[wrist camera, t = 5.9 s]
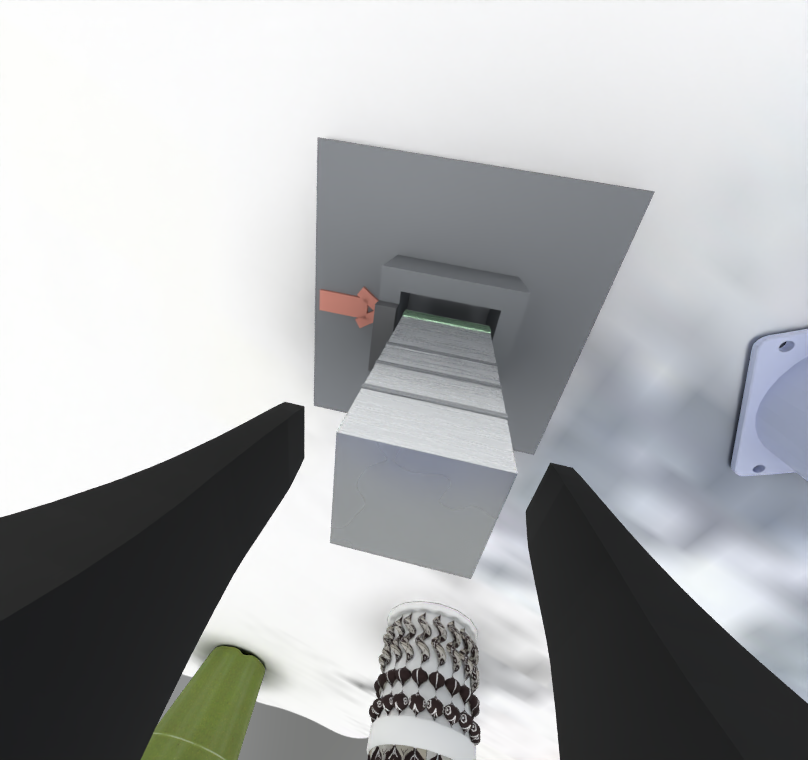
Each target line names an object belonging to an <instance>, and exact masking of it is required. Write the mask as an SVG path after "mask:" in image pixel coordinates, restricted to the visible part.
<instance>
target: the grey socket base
mask: <svg viewBox="0 0 808 760" xmlns="http://www.w3.org/2000/svg"><path fill="white" fill-rule="evenodd" d="M653 194H654V191H648V190H641V189H635V188H629V187H623V186H617V185H610V184H604V183H598V182H592V181H586V180H579V179H573V178H567V177H561V176H555V175H548V174H542V173H536V172H530V171H523V170H517V169H511V168H505V167H499V166H492V165H486V164H480V163H474V162H468V161H461V160H455V159H449V158H443V157H437V156H430V155H424V154H418V153H412V152H406V151H399V150H393V149H387V148H381V147H374V146H368V145H362V144H356V143H350V142H343V141H337V140H331V139H325V138H319V137H318V150H317V223H316V295H315V367H314V406H318V407H323V408H327V409H332V410H336V411H341V412H345V413H348V411H349V409H350V408H351V406H352V404H353V402H354V401H355V399H356V397H357V395H358V394H359V392H360V390H361V386H362V384H363V383H365V381H366V380H367V378H368V376H369V374H370V373H371V371H372V369H373V367H374V365H375V362H376V360H377V359H378V358H379V357H380V355H381V353H382V351H383V350H384V348H385V346H386V342H387V341H389V339H390V337H391V336H392V334H393V332H394V330H395V328H396V327H397V325H398V323H399V321H400V320H401V318H402V315H403V313H404V311H405V310H406V309H407V310H412V311H417V312H422V313H427V314H432V315H437V316H442V317H447V318H452V319H457V320H462V321H467V322H473V323H478V324H483V325H488V326H490V329H491V339H492V344H493V349H494V354H495V359H496V364H498V368H497V370H498V375H499V380H500V385H501V386H502V396H503V401H504V406H505V411H506V414H508V421H507V422H508V427H509V432H510V437H511V442H512V448H513V450H515V451H519V452H524V453H528V454H533V455H534V454H535V451H536V449H537V447H538V445H539V443H540V441H541V438H542V436H543V434H544V432H545V430H546V427H547V425H548V423H549V421H550V419H551V417H552V414H553V412H554V410H555V408H556V406H557V403H558V401H559V399H560V397H561V395H562V393H563V390H564V388H565V386H566V384H567V382H568V380H569V377H570V375H571V373H572V371H573V369H574V366H575V364H576V362H577V360H578V358H579V356H580V353H581V351H582V349H583V347H584V345H585V342H586V340H587V338H588V336H589V334H590V332H591V329H592V327H593V325H594V323H595V321H596V318H597V316H598V314H599V312H600V310H601V308H602V305H603V303H604V301H605V299H606V297H607V295H608V292H609V290H610V288H611V286H612V284H613V281H614V279H615V277H616V275H617V273H618V271H619V268H620V266H621V264H622V262H623V260H624V257H625V255H626V253H627V251H628V249H629V247H630V244H631V242H632V240H633V238H634V236H635V233H636V231H637V229H638V227H639V225H640V223H641V220H642V218H643V216H644V214H645V212H646V210H647V207H648V205H649V203H650V201H651V199H652V196H653Z"/></svg>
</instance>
